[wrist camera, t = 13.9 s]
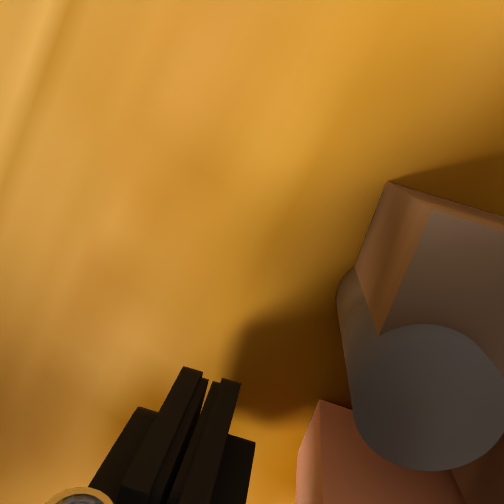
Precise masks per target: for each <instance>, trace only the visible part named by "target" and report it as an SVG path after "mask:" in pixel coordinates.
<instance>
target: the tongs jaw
mask: <svg viewBox="0 0 504 504" xmlns="http://www.w3.org/2000/svg"><path fill="white" fill-rule="evenodd" d="M451 471H452V473H453V475H454V478H455V480H456V483H457V485H458V487H459V490H460V492H461V494H462V497H463V499H464V502H465V504H504V433H503V434H502V436H501V437H500V439H499V440H498V441H497V443H496V444H495V445H494V446H493V447H492V448H491V449H490V450H489V451H488V452H486V453H485V454H484V455H482V456H481V457H479V458H478V459H476V460H474V461H472V462H470V463H468V464H466V465H463V466H460V467H457V468H453V469H451Z"/></svg>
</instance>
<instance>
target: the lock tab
mask: <svg viewBox="0 0 504 504" xmlns="http://www.w3.org/2000/svg"><path fill="white" fill-rule="evenodd" d="M295 504H465V502H464V499H463V497H462V494H461V492H460V490H459V487H458V485H457V483H456V480H455V478H454V475H453V473H452V471H451V469H449V470H442V471H419V470H413V469H408V468H405V467H401V466H398V465H396V464H393V463H391V462H389V461H387V460H386V459H384V458H382V457H381V456H380V455H378V454H377V453H376V452H374V451H373V450H372V449H371V448H370V447H369V446H368V445H367V443H366V442H365V441H364V440H363V438H362V437H361V435H360V433H359V431H358V429H357V427H356V424H355V420H354V416H353V410H351V409H348V408H345V407H341V406H338V405H335V404H332V403H329V402H326V401H323V400H320V399H319V401H318V403H317V406H316V408H315V411H314V413H313V416H312V419H311V421H310V424H309V426H308V429H307V431H306V434H305V436H304V439H303V441H302V444H301V446H300V449H299V451H298V454H297V476H296V503H295Z"/></svg>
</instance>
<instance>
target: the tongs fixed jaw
mask: <svg viewBox="0 0 504 504" xmlns="http://www.w3.org/2000/svg"><path fill="white" fill-rule="evenodd" d="M336 306H337V313H338V319H339V326H340V332H341V339H342V345H343V352H344V358H345V364H346V371H347V377H348V384H349V390H350V396H351V403H352V409H353V416H354V420H355V424H356V427H357V429H358V431H359V433H360V435H361V437H362V438H363V440H364V441H365V442H366V443H367V445H368V446H369V447H370V448H371V449H372V450H373V451H374V452H376V453H377V454H378V455H380V456H381V457H382V458H384V459H386V460H387V461H389V462H391V463H393V464H396V465H398V466H401V467H405V468H408V469H413V470H419V471H442V470H449V469H453V468H457V467H460V466H463V465H466V464H468V463H470V462H472V461H474V460H476V459H478V458H479V457H481V456H482V455H484V454H485V453H486V452H488V451H489V450H490V449H491V448H492V447H493V446H494V445H495V444H496V443H497V441H498V440H499V439H500V437H501V436H502V434H503V433H504V217H503V216H499V215H496V214H493V213H489V212H486V211H483V210H479V209H476V208H473V207H470V206H466V205H463V204H460V203H456V202H453V201H450V200H446V199H443V198H440V197H437V196H433V195H430V194H427V193H423V192H420V191H417V190H414V189H410V188H407V187H404V186H400V185H397V184H394V183H390V182H386V185H385V187H384V190H383V193H382V195H381V198H380V200H379V203H378V206H377V208H376V211H375V214H374V216H373V219H372V221H371V224H370V227H369V229H368V232H367V234H366V237H365V240H364V242H363V245H362V247H361V250H360V253H359V255H358V258H357V260H356V263H355V266H354V267H352V268H351V269H350V270H349V271H348V272H347V273H346V274H345V276H344V277H343V279H342V280H341V282H340V284H339V286H338V290H337V294H336Z"/></svg>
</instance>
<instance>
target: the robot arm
mask: <svg viewBox="0 0 504 504" xmlns="http://www.w3.org/2000/svg"><path fill="white" fill-rule="evenodd" d="M202 375H203V372H201V371H198V370H195V369H191V368H188V367H185V366H184V367H183V368H182V369H181V371H180V373H179V375H178V377H177V379H176V381H175V383H174V384H173V386H172V388H171V390H170V392H169V394H168V396H167V398H166V399H165V401H164V403H163V405H162V407H161V409H160V411H159V412H155V411H152V410H149V409H146V408H142V407H138V408H137V409H136V410H135V412H134V413H133V415H132V417H131V418H130V420H129V421H128V423H127V425H126V426H125V428H124V429H123V431H122V433H121V434H120V436H119V437H118V439H117V441H116V442H115V444H114V446H113V447H112V449H111V450H110V452H109V454H108V455H107V457H106V458H105V460H104V462H103V463H102V465H101V467H100V468H99V470H98V471H97V473H96V475H95V476H94V478H93V479H92V481H91V483H90V484H89V486H88V487H76V488H72V489H67V490H65V491H63V492H61V493H59V494H56V495H55V496H53V497H52V498H51V499H50V500H49V501H47V502H46V503H45V504H246V499H247V493H248V487H249V481H250V475H251V469H252V463H253V457H254V451H255V442H253V441H249V440H246V439H243V438H239V437H236V436H233V435H230V434H228V432H229V428H230V424H231V420H232V417H233V413H234V409H235V405H236V402H237V398H238V394H239V390H240V387H241V383H238V382H234V381H231V380H228V379H224V378H222V380H221V383H218V382H215V381H213V382H212V385H211V387H210V390H209V393H208V395H207V398H206V401H205V403H204V406H203V408H202V404H203V401H204V397H205V393H206V389H207V385H208V381H209V379H205V378H202ZM201 408H202V411H201ZM200 412H201V414H200Z"/></svg>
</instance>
